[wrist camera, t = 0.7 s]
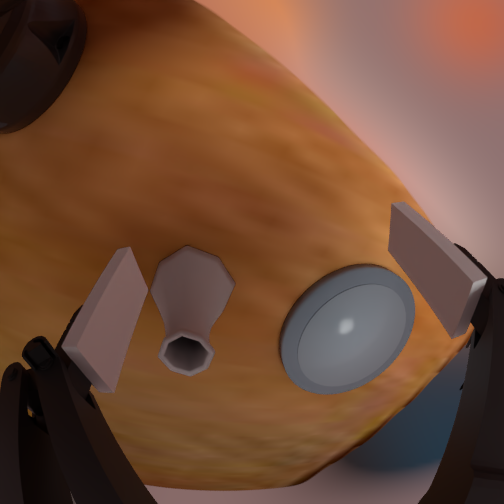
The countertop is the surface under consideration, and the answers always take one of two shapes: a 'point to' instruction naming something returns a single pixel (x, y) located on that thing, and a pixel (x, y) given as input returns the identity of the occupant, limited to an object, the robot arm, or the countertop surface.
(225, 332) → the countertop surface
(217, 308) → the flask
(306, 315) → the dish
